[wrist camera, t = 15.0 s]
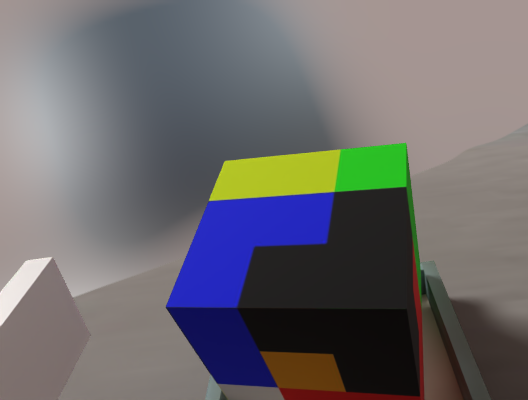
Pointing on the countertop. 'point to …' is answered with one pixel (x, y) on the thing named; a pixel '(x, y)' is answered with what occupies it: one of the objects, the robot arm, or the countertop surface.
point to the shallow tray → (434, 348)
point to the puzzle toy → (307, 279)
